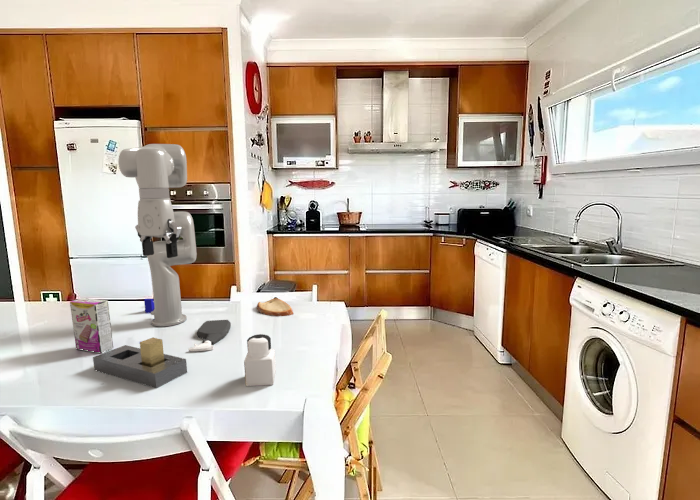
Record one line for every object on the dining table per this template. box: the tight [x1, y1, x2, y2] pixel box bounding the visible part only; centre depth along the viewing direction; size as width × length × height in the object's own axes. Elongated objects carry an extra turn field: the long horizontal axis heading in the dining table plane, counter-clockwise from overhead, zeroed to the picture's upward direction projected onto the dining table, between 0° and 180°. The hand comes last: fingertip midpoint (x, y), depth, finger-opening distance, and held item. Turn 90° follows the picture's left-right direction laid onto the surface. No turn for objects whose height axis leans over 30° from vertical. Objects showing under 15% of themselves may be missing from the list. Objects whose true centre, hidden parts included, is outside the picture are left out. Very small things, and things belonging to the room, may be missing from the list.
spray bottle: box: [188, 319, 232, 352], centre depth 143 cm, size 3×11×24 cm
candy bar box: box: [69, 297, 114, 354], centre depth 134 cm, size 11×5×16 cm, turn 71°
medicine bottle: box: [243, 333, 277, 387], centre depth 110 cm, size 7×7×12 cm
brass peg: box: [139, 337, 165, 367], centre depth 114 cm, size 4×4×10 cm
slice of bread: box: [256, 297, 294, 317], centre depth 174 cm, size 18×18×4 cm
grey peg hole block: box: [92, 344, 188, 389], centre depth 117 cm, size 26×10×4 cm, turn 63°
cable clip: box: [143, 298, 155, 314], centre depth 180 cm, size 12×4×6 cm, turn 174°
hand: (160, 256), depth 117 cm, fingers open, 9 cm apart
